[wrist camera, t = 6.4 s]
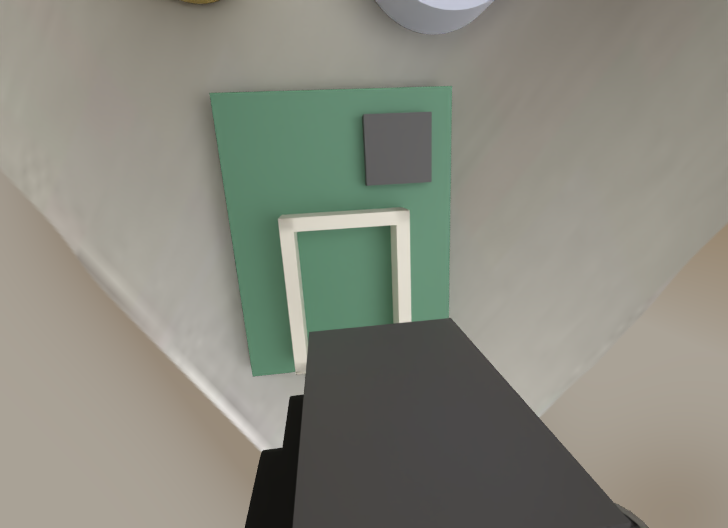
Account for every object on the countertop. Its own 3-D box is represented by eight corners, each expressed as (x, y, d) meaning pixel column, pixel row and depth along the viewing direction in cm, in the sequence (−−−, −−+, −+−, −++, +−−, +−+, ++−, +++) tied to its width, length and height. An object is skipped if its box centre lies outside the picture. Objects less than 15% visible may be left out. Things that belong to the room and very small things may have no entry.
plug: (309, 331, 9) (288, 579, 4) (450, 318, 10) (631, 522, 4) (328, 523, 11) (335, 892, 5) (447, 504, 12) (571, 831, 6)
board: (217, 98, 21) (197, 84, 17) (443, 91, 22) (465, 76, 19) (256, 364, 25) (246, 394, 22) (441, 345, 27) (458, 370, 23)
